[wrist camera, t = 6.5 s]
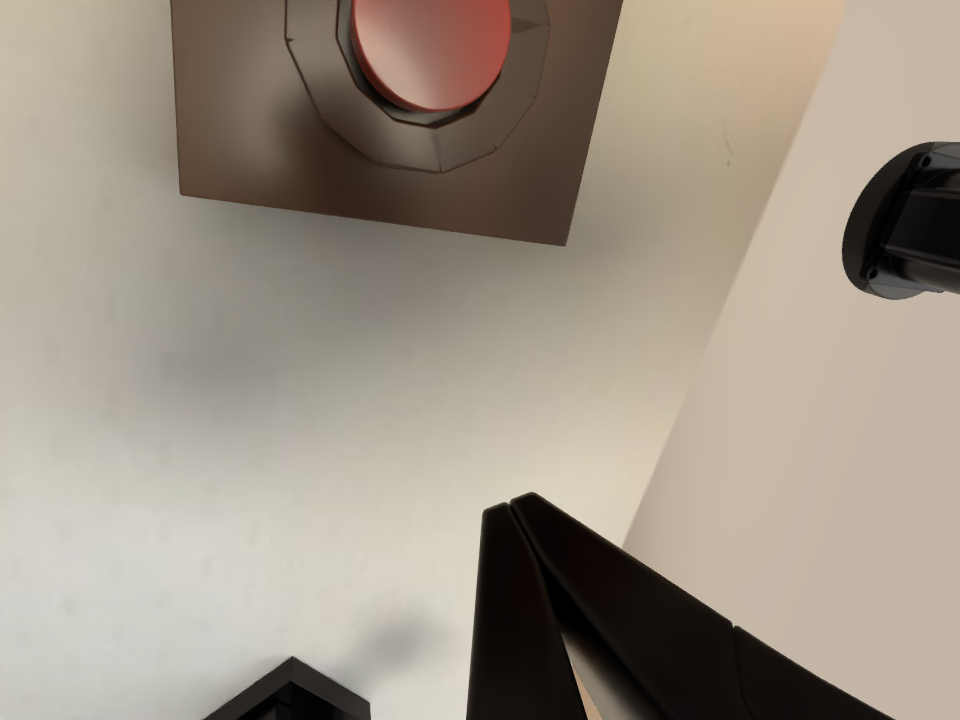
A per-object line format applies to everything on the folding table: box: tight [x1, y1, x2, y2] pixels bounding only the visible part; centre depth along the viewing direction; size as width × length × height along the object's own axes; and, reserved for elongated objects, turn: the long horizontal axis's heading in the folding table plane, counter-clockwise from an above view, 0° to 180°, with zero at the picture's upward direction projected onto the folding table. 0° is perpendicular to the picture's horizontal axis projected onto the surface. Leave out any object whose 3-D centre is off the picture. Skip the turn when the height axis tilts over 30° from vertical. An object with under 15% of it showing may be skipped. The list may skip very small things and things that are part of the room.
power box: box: [170, 0, 623, 247], centre depth 14 cm, size 12×10×4 cm
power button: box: [350, 0, 511, 113], centre depth 12 cm, size 4×4×2 cm
